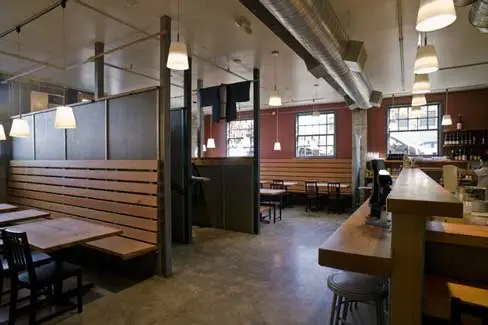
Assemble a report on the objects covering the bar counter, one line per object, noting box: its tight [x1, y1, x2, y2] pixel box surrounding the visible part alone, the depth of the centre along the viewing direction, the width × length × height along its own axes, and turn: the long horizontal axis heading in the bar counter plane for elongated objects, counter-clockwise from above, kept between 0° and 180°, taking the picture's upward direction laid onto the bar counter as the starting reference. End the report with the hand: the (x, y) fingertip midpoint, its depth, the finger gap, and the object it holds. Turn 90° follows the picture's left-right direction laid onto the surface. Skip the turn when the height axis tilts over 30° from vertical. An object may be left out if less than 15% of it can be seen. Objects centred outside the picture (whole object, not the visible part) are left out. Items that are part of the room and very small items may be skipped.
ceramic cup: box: [378, 210, 388, 224], centre depth 197 cm, size 5×5×8 cm
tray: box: [364, 216, 392, 229], centre depth 197 cm, size 15×15×2 cm
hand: (382, 218), depth 197 cm, fingers open, 9 cm apart
